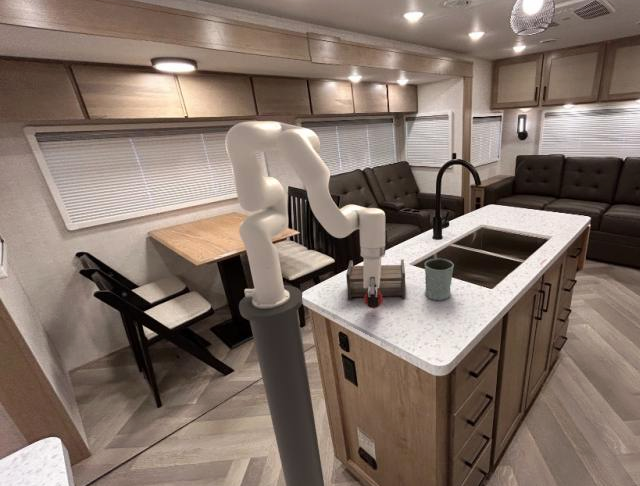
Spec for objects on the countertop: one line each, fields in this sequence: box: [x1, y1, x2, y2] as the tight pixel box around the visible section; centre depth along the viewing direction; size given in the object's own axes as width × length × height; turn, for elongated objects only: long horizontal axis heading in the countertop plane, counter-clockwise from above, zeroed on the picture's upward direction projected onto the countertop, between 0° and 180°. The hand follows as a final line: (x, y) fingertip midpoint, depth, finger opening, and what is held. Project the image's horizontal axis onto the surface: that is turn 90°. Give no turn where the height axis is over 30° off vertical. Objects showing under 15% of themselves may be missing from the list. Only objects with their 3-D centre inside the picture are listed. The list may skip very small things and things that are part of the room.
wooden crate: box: [345, 259, 406, 301], centre depth 116 cm, size 20×12×10 cm, turn 92°
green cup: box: [424, 258, 455, 301], centre depth 113 cm, size 10×10×12 cm
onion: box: [363, 289, 383, 310], centre depth 103 cm, size 6×6×8 cm
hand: (373, 300), depth 103 cm, fingers closed on onion, 5 cm apart
